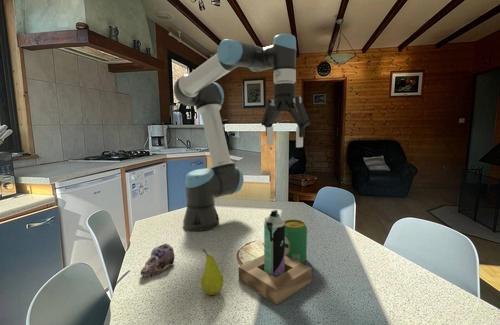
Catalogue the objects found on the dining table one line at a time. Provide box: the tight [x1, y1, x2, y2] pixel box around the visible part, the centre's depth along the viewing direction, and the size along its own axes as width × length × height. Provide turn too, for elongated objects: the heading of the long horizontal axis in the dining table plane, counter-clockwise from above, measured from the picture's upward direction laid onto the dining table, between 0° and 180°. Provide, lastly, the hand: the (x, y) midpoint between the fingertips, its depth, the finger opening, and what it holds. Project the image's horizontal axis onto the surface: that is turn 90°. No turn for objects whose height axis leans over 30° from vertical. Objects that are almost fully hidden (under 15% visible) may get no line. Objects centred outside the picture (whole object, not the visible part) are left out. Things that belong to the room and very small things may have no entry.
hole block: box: [237, 254, 313, 306], centre depth 74 cm, size 14×14×4 cm
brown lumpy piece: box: [140, 243, 175, 278], centre depth 81 cm, size 12×8×6 cm, turn 152°
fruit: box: [200, 248, 224, 296], centre depth 68 cm, size 6×6×12 cm
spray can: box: [263, 209, 286, 278], centre depth 73 cm, size 6×6×20 cm
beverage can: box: [284, 218, 308, 264], centre depth 85 cm, size 8×8×12 cm
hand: (284, 146), depth 95 cm, fingers open, 13 cm apart
